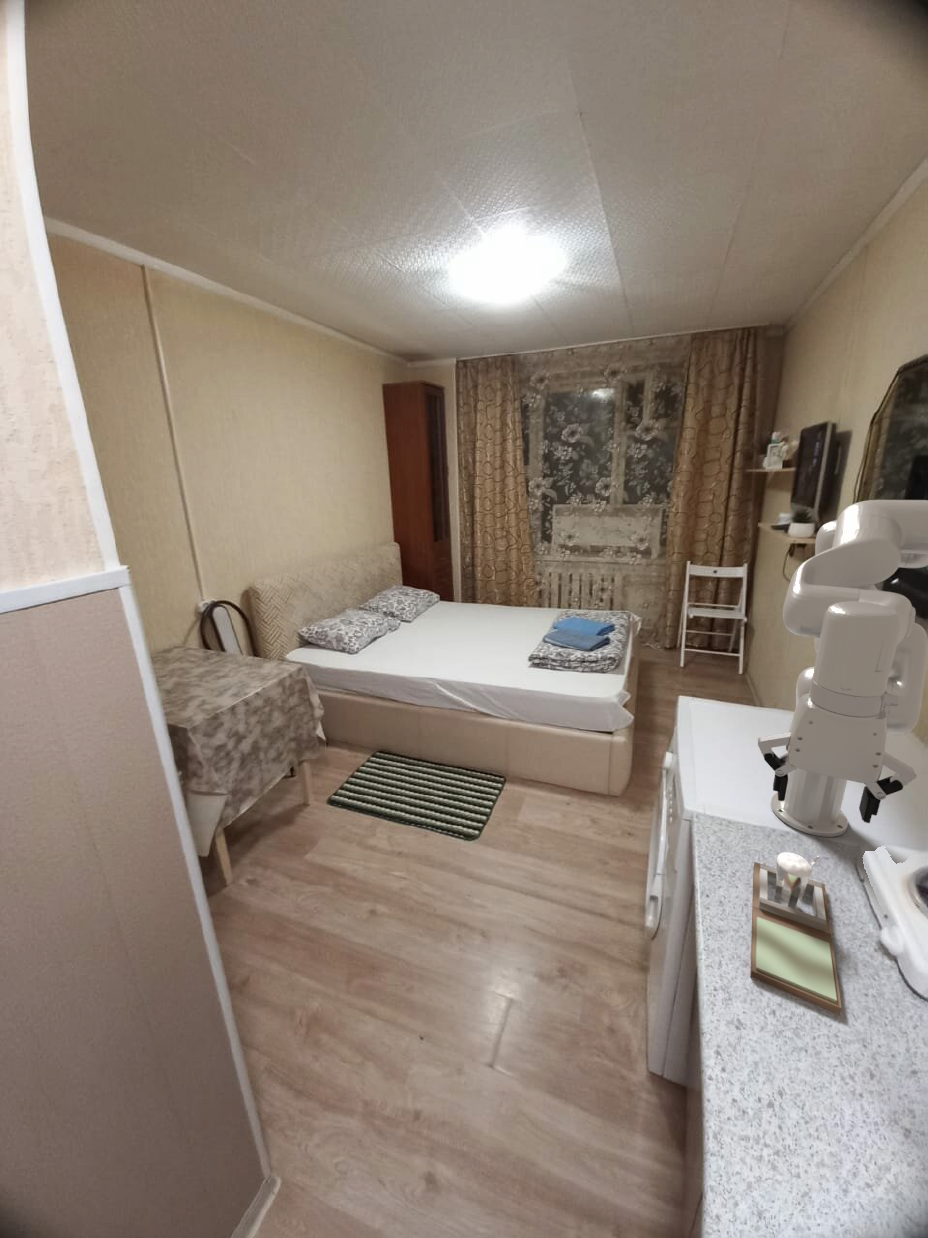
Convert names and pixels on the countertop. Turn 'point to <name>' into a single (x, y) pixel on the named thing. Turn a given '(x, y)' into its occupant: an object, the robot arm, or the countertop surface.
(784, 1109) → the countertop surface
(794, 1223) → the countertop surface
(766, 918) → the board
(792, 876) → the milkshake
